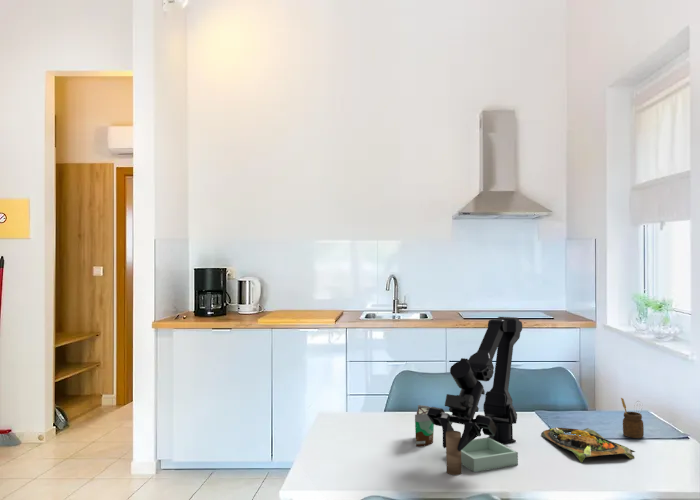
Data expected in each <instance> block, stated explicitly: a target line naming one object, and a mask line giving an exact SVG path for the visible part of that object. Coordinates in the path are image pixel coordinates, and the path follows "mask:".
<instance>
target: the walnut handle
mask: <svg viewBox="0 0 700 500" xmlns="http://www.w3.org/2000/svg"><path fill="white" fill-rule="evenodd" d="M461 437H462V433H461V432H460V431H459V430H454V431H447V432H446V448H445V453H446V454H445V458H446V459H445V461H446V474H448V475H449V476H451V475H452V476H459V475H462V472H463V470H462V469H463V468H462V466H463V465H462V460H461V451H458V445H459V442H460V439H461Z"/></svg>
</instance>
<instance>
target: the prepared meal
mask: <svg viewBox="0 0 700 500" xmlns="http://www.w3.org/2000/svg"><path fill="white" fill-rule="evenodd" d="M564 432H565V433H564ZM569 432H571V434H569ZM567 433H568V434H567ZM572 434H576V435H572ZM579 435H581V436H579ZM540 437H543V438H545V439H547V440H549V441H551V442H552V443H553V444H555V445H556V446H558V447H560V448H562V449H565V450H568V451H571V452H572V453H573V454H574V456H575V457H576V458H577V460H578V461H579V462H581V464H582V463H583V462H584V460H585V458H589V457H591V458H592V457H598V456H610V455H612V456H613V455H615V456H616V455H619V454H625V455H626V456H627V458H629V459H630V460H632V459H635V455H634V454H633V453H636V451H635V450H634V449H631V448H629V447H628V446H624V445H622V444H620V443H617V442H615V441H611V440H608V439H606V438H604V436H602V434H601V435H600V434H599V433H598V432H597V431H595V430H594V429H591V428H589V427H587V428H584V429H577V428H569V427H568V428H567V427H553V428H549V429H546V430H543V431H542V432H541V434H540Z"/></svg>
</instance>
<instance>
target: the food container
mask: <svg viewBox="0 0 700 500" xmlns="http://www.w3.org/2000/svg"><path fill="white" fill-rule="evenodd" d="M431 407H432V406H429V405H421V404H418V405H417V411H416V414H414V423H415V425H414V427H415V428H414V429H415V447H418V448H419V447H427V446H428V447H429V446H431V445H433V443H434V431H435V429H434V428H435V425H434V424H433V423H432V421H431V420H430V418H429V417H428V415H427V412H428V410H429V408H431Z"/></svg>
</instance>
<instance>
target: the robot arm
mask: <svg viewBox="0 0 700 500" xmlns="http://www.w3.org/2000/svg"><path fill="white" fill-rule="evenodd" d="M487 322H488V323H487V328H486V331H485V333H484V336H483V338H482V339H481V342H480V345H479V347H478V349H477V351H476V352H475V353H473V354H472V355H470V357H469V358H465V357H464V358H463V357H462V358H460V360H459V361H457V362H454V363H453V364H452V365H451V367H450V368H449V374H450V376H451V377H452V378H453V380H454V382H455V385H457V387H458V388H459V389H460V392H459V394H456V395H455V394H449V393H447V394H446V397H445V401H444V406H445V407H446V408H447V407H448V411H449V413H451V414H449V413H447V412H446V411H445V410H444V409H443V408H442V407H441V408H440V407H435V406H430V407H431V408H429V410H428V412H427V415H428V417H429V418H430V420H431V421H432V423H433V424H434V426H436V427H437V426H438V427H441V428H442V447H443V449H446V432H447V431H455V429H454V427H453V426H452V424H453V423H454V424H457V425H458V424H459V425H463V426H464V428H463V432H462V433H461V439H460V442H459V445H458V451H461V450H462V449H463V448H464V447H465V446H466V445H467V444H468V443H470V442H471V441H472V440H473V439H477V437H481V436H482V433H481V432H483V434H484V435H485V436H488V437H489V438H491V439H493V440H495V441H497V442H499V443H501V444H503V445H505V444H511V443H517V440H516V439H514V438H513V437H514V434H513V424H517V421H518V412H517V411H516V409H515V408H514V406H513V398H512V396H511V394H510V391H509V389H510V388H509V386H510V379H511V370H512V369H511V368H512V360H513V353H514V346H515V345H516V343H517V342H518V341H519V340H520V337H521V332H522V330H523V322H522V321H521V320H520V319H519V317H514V316H513V317H511V316H497V318H492V319H489V320H488V321H487ZM495 354H496V357H495ZM494 357H495V358H496V360H495V366H494V362H493V359H494ZM492 378H493V382H492V388H491V389H490V390H489V391H485V389H484V385H483V384H482V383H481V382H490V381H491V379H492ZM482 395H485V397H484V403H483V404H482V405H483V406H482V407H483V413H484V415H483V414H477V415H476V412H477V413H478V412H479V409H480V408H479V406H478V405H479V403H480V400H481V397H482ZM475 415H476V416H475ZM474 417H475V418H474Z"/></svg>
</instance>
